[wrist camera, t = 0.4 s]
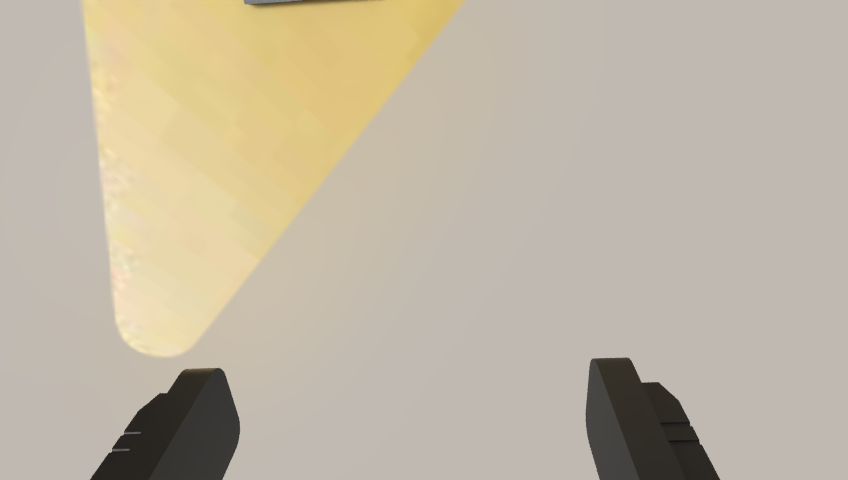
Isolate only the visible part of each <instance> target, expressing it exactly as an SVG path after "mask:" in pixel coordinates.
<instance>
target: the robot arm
mask: <svg viewBox="0 0 848 480" xmlns="http://www.w3.org/2000/svg"><path fill="white" fill-rule="evenodd" d="M586 428H587V435H588V440H589V444H590V448H591V451H592V454H593V458H594V461H595V465H596V468H597V472H598V475H599V478H600V480H720V479H719V477H718V475H717V473H716V471H715V469H714V467H713V465H712V463H711V461H710V460H709V458H708V456H707V454H706V452H705V450H704V448H703V446H702V445H700V443H699V439H698V437H697V435H696V433H695V431H694V429H693V427H692V426H690V421H689V419H688V418H687V416H686V414H685V412H684V410H683V408H682V406H681V404H680V402H679V401H678V400H677V399H676V398H675V397H674V396H673V395H672V394H671V393H670V392H668V391H667V390H666V389H665V388H664V387H663V386H662V385H661V384H660V383H659V382H651V383H641V381H640V379H639V376H638V374H637V372H636V370H635V367H634V365H633V363H632V361H631V360H630V359H629V358H599V359H592V360H591V362H590V369H589V382H588V393H587V404H586ZM239 434H240V422H239V417H238V414H237V411H236V407H235V404H234V401H233V398H232V395H231V391H230V388H229V385H228V382H227V379H226V376H225V373H224V371H223V370H222V369H220V368H204V369H186V370H183V371H182V372H181V373H180V375H179V376H178V378H177V379H176V381H175V382H174V384H173V385H172V387H171V388H170V390H169V391H168V393H165V394H164V393H160V394H159V395H157V396H156V397H155V398H154V399H153V400H151V401H150V402H149V403H148V404H147V405H145V406H144V407H143V408H142V409H140V410H139V411H138V412H137V414H136V415H135V417H134V418H133V419H132V421H131V422H130V424H129V425H128V427H127V428H126V429H125V431H124V435H123V436H120V438H119V439H118V441H117V442H116V444H115V445H114V446H113V448H112V452H111V453H109V454H108V455H107V456H106V458H105V459H104V461H103V462H102V463H101V465H100V466H99V468H98V469H97V471H96V472H95V474H94V475H93V476H92V478H91V479H90V480H222V479H223V477H224V474H225V472H226V470H227V468H228V465H229V463H230V461H231V459H232V457H233V454H234V452H235V449H236V447H237V444H238V440H239Z"/></svg>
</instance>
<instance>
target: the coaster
mask: <svg viewBox="0 0 848 480" xmlns="http://www.w3.org/2000/svg"><path fill="white" fill-rule="evenodd" d="M286 1H300V0H244V3H245V4H257V3H271V2H286Z"/></svg>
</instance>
